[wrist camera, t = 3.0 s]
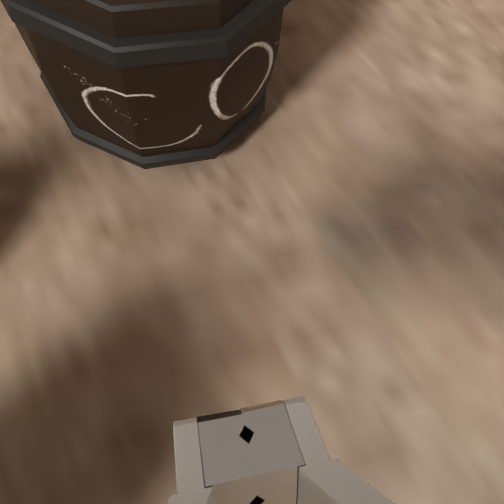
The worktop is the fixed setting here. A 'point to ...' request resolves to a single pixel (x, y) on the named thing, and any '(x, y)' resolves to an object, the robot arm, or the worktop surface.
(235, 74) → the black short wide cylinder
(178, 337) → the worktop surface
